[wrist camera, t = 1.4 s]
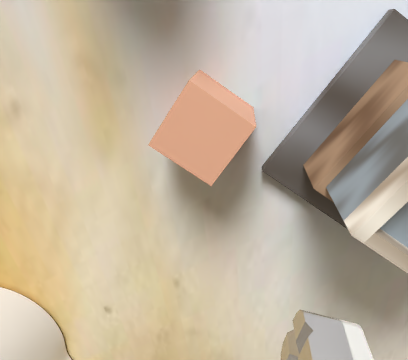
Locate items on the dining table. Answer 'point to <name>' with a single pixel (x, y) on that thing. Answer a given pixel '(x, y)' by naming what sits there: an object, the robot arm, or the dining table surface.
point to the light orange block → (204, 128)
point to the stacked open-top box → (358, 144)
